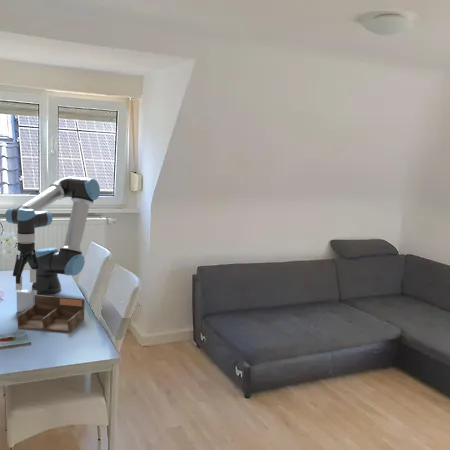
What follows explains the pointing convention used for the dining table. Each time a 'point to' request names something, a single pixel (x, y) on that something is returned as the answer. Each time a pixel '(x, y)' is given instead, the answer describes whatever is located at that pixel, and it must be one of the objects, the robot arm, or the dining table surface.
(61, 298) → the rack
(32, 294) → the block
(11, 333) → the dining table surface
